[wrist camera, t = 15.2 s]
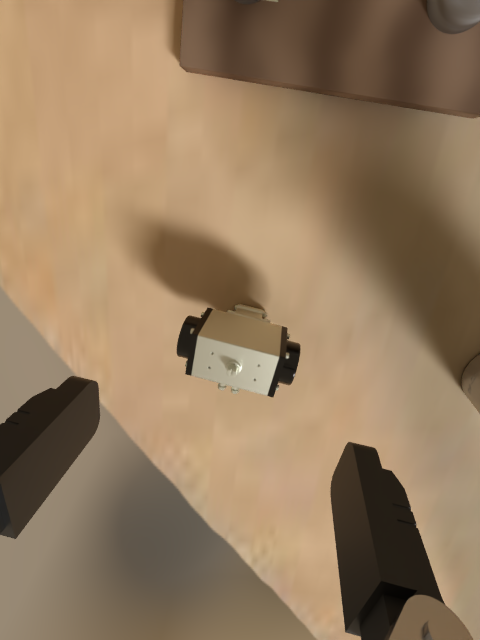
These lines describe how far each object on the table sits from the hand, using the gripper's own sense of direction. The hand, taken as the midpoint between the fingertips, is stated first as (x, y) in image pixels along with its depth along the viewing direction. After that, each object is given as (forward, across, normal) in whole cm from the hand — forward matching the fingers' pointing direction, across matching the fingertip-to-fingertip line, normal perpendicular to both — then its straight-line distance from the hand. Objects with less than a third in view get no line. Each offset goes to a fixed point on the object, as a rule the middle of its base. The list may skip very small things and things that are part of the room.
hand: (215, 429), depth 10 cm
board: (+28, -2, -21) cm, 35 cm away
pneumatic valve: (+28, +1, +10) cm, 30 cm away
